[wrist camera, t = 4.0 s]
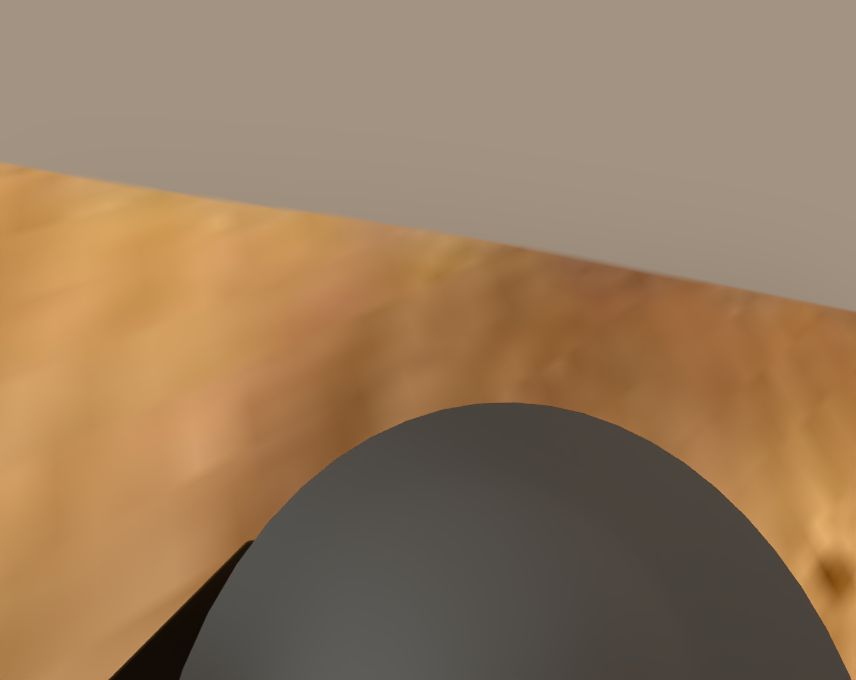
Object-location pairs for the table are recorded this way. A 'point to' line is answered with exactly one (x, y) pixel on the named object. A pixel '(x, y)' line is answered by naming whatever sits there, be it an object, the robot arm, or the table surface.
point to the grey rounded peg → (511, 566)
